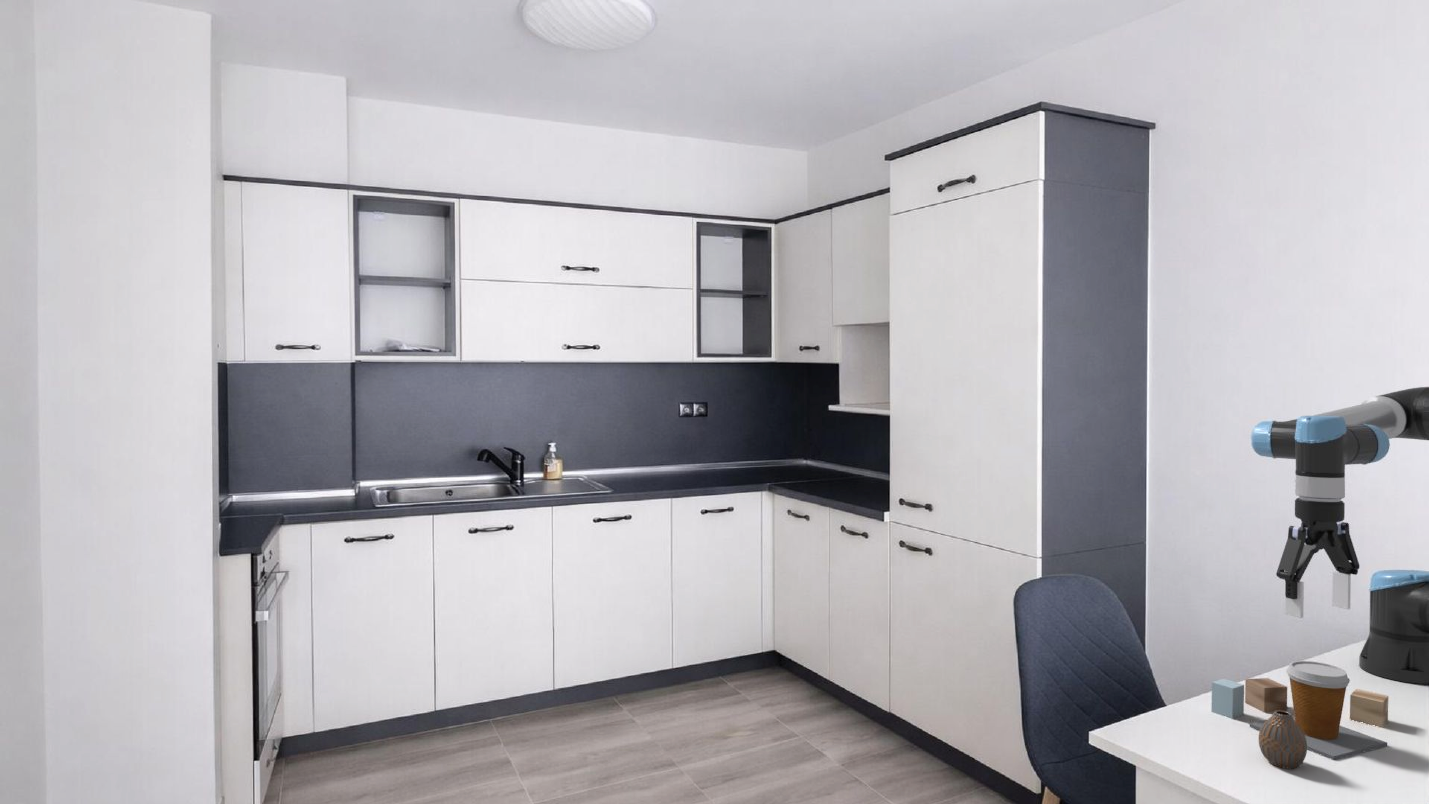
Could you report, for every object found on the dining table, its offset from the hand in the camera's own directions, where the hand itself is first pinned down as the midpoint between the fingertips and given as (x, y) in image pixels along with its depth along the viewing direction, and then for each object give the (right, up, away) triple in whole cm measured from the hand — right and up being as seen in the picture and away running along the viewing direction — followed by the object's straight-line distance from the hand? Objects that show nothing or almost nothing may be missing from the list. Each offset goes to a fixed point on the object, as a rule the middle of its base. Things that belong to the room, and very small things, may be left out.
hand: (1318, 611), depth 156 cm
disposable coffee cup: (-1, -22, -1) cm, 22 cm away
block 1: (-10, -20, +8) cm, 23 cm away
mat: (-1, -23, -1) cm, 23 cm away
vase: (-15, -23, -12) cm, 30 cm away
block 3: (+14, -23, +6) cm, 27 cm away
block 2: (-2, -23, +13) cm, 26 cm away
